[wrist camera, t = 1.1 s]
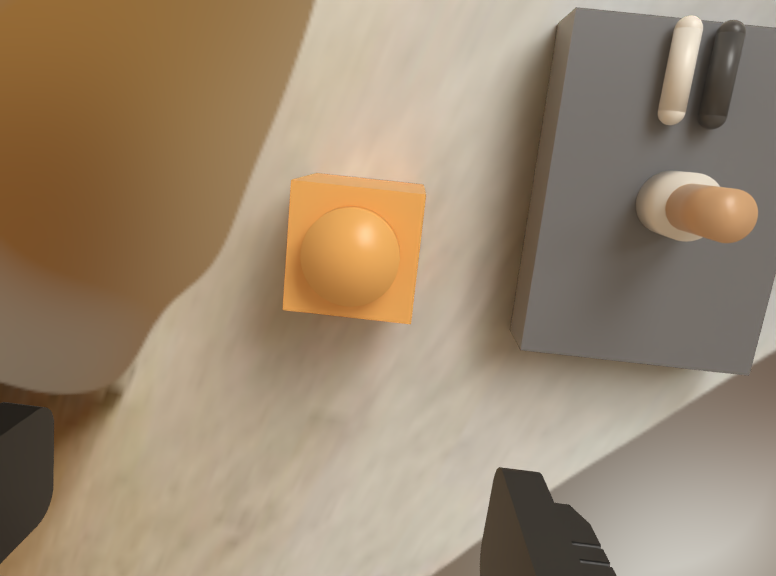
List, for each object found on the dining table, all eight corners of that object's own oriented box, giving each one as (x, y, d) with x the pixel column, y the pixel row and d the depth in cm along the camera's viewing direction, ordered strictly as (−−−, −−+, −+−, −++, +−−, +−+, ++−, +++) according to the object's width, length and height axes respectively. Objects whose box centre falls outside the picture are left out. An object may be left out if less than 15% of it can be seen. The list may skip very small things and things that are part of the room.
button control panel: (558, 22, 26) (619, -30, 18) (789, 46, 26) (949, 4, 18) (509, 329, 29) (544, 395, 22) (715, 353, 29) (825, 427, 22)
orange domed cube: (316, 172, 28) (285, 181, 21) (423, 184, 28) (426, 196, 21) (308, 277, 29) (276, 316, 22) (411, 289, 29) (410, 331, 22)
